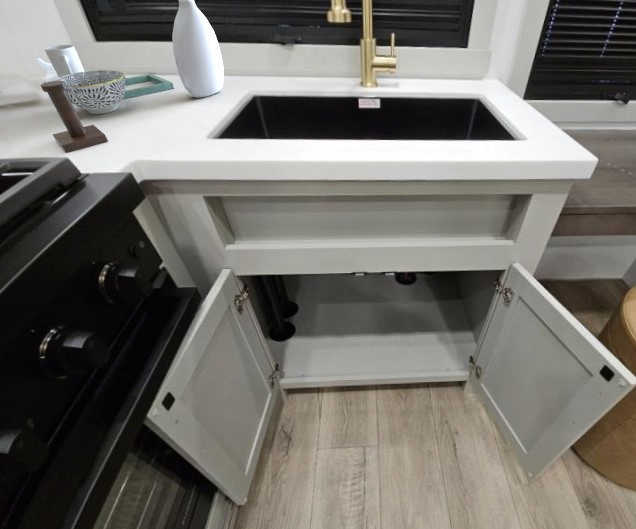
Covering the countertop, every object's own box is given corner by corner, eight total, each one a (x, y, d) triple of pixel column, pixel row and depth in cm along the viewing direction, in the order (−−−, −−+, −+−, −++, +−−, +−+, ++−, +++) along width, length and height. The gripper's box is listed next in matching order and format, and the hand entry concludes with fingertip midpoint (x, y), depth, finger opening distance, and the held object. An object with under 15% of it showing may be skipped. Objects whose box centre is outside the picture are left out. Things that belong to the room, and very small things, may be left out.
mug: (68, 96, 93) (43, 46, 85) (94, 92, 96) (72, 43, 88) (70, 105, 87) (44, 52, 79) (98, 100, 90) (75, 49, 82)
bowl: (103, 123, 76) (88, 88, 71) (53, 117, 80) (34, 83, 75) (149, 103, 87) (138, 71, 82) (103, 98, 91) (90, 67, 86)
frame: (101, 88, 99) (98, 83, 98) (152, 79, 107) (151, 73, 106) (119, 99, 90) (117, 93, 89) (174, 88, 98) (172, 82, 97)
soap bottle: (215, 85, 99) (190, -34, 81) (233, 89, 96) (212, -34, 78) (175, 97, 91) (138, -33, 73) (194, 102, 87) (160, -34, 69)
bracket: (56, 83, 108) (36, 58, 102) (76, 74, 109) (58, 49, 104) (54, 92, 100) (32, 66, 94) (76, 83, 101) (55, 56, 95)
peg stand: (56, 141, 69) (23, 83, 61) (96, 131, 73) (70, 76, 65) (65, 152, 64) (32, 92, 57) (108, 141, 68) (81, 83, 61)
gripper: (105, -125, 63) (146, 14, 77) (72, -106, 76) (113, 8, 91) (61, -129, 59) (113, 17, 73) (35, -109, 73) (84, 10, 87)
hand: (113, 12), depth 82 cm, fingers open, 13 cm apart
